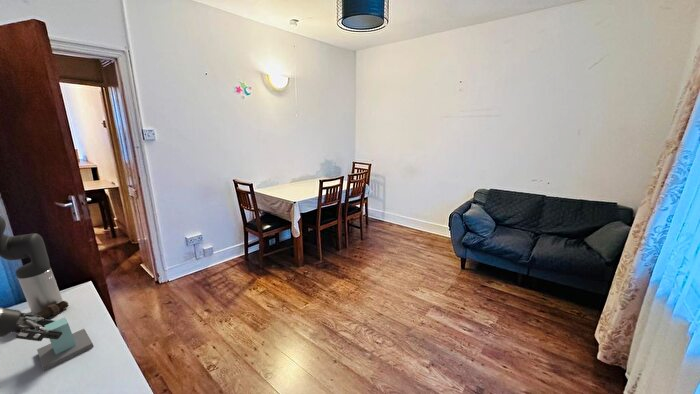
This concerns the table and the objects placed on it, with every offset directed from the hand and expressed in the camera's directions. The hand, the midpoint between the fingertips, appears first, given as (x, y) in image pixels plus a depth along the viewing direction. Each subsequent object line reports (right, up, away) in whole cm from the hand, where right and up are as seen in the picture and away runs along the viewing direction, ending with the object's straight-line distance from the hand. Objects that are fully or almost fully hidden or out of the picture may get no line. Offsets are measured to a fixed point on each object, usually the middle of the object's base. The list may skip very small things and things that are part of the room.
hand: (57, 330), depth 94 cm
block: (0, -7, +2) cm, 7 cm away
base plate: (0, -8, +2) cm, 8 cm away
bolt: (-24, -5, +18) cm, 30 cm away
